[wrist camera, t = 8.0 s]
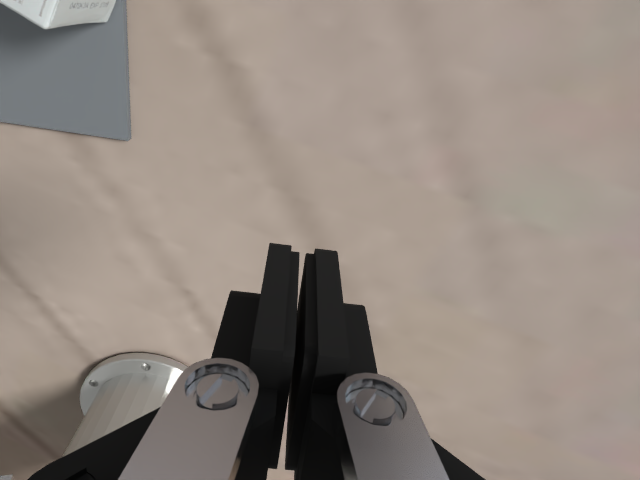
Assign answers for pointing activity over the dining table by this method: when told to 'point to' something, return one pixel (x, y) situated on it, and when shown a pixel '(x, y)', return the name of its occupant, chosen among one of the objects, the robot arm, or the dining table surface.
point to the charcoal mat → (66, 75)
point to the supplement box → (62, 11)
